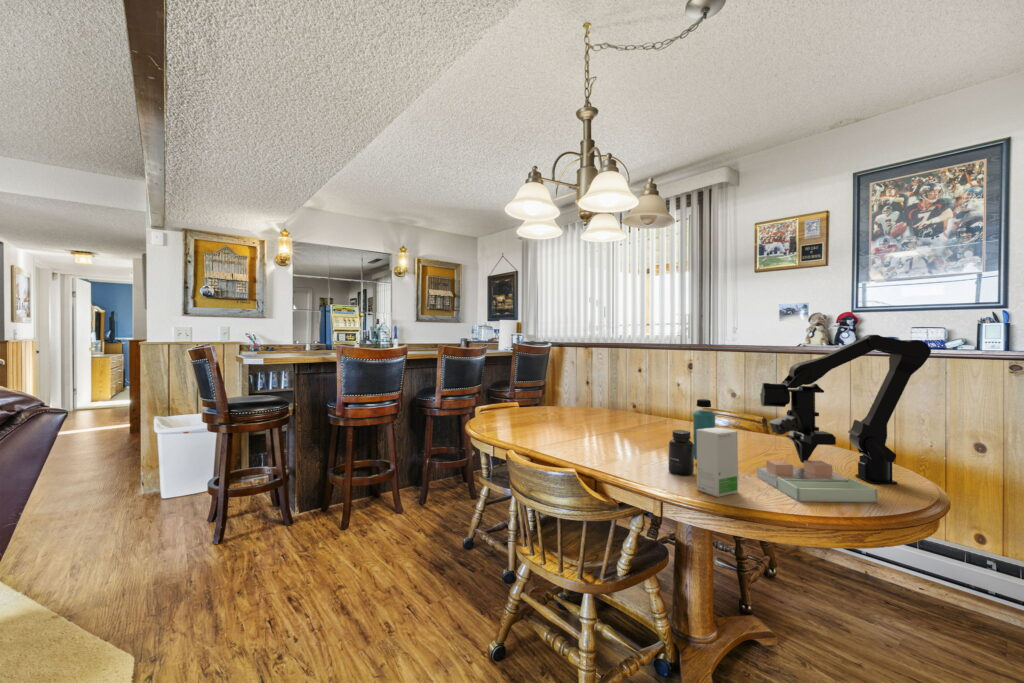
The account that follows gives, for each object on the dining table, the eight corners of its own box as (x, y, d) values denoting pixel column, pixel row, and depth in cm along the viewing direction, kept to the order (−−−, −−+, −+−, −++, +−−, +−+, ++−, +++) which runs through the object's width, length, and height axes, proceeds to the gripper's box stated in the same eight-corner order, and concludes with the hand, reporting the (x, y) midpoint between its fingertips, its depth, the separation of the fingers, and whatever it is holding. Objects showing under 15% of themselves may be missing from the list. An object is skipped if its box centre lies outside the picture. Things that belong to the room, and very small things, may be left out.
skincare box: (717, 498, 105) (717, 433, 105) (694, 489, 111) (694, 429, 110) (739, 492, 109) (739, 430, 108) (716, 484, 114) (716, 425, 114)
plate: (823, 476, 120) (823, 468, 120) (849, 489, 110) (849, 479, 110) (756, 476, 121) (756, 467, 121) (776, 488, 111) (776, 478, 111)
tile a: (821, 469, 118) (821, 460, 118) (832, 474, 114) (832, 465, 114) (804, 469, 119) (804, 460, 119) (814, 474, 114) (814, 465, 114)
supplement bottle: (668, 474, 123) (667, 432, 123) (669, 468, 129) (668, 428, 129) (694, 477, 120) (694, 434, 120) (693, 470, 127) (693, 429, 127)
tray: (850, 489, 110) (850, 477, 110) (877, 502, 101) (877, 489, 101) (777, 488, 111) (777, 477, 111) (797, 501, 102) (797, 488, 102)
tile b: (783, 469, 119) (783, 460, 119) (793, 474, 114) (793, 465, 114) (766, 469, 119) (766, 460, 119) (775, 474, 115) (775, 464, 115)
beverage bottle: (718, 467, 129) (718, 401, 129) (695, 466, 131) (694, 400, 131) (713, 461, 136) (712, 398, 136) (690, 460, 137) (690, 397, 137)
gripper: (757, 403, 132) (757, 453, 132) (792, 413, 114) (793, 472, 114) (794, 403, 132) (795, 454, 132) (837, 413, 113) (837, 472, 113)
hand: (803, 462), depth 123 cm, fingers closed
